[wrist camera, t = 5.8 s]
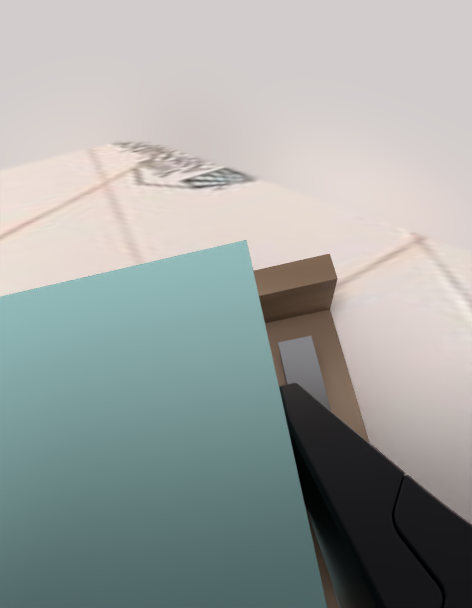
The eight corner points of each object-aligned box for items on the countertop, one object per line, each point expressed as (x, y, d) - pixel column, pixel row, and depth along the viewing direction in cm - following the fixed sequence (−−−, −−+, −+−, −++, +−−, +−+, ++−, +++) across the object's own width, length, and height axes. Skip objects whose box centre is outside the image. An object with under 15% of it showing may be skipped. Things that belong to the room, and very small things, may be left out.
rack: (431, 667, 12) (553, 859, 6) (-43, 739, 13) (-299, 956, 7) (322, 295, 17) (335, 217, 11) (-12, 368, 18) (-149, 329, 12)
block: (310, 528, 13) (423, 1044, 2) (237, 541, 13) (-126, 1093, 2) (283, 407, 14) (246, 240, 3) (219, 420, 14) (-33, 305, 3)
